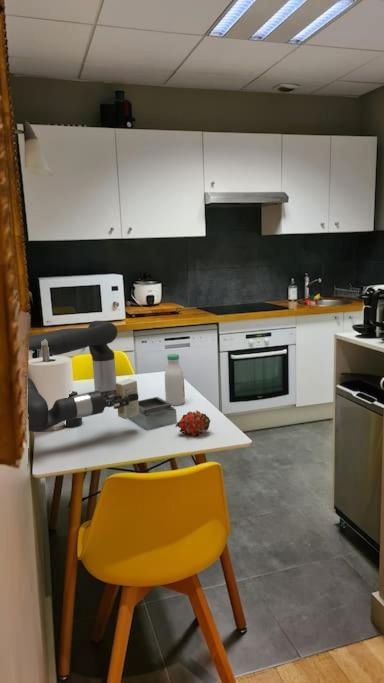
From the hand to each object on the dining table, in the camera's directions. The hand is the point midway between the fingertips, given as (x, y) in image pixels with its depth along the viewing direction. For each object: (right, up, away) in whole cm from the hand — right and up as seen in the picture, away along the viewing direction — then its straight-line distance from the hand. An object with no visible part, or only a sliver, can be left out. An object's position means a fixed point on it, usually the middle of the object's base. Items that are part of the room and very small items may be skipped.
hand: (134, 394), depth 171 cm
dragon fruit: (+20, -13, -3) cm, 25 cm away
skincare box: (-2, -7, 0) cm, 8 cm away
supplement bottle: (-24, -12, +11) cm, 29 cm away
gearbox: (+5, -11, +12) cm, 17 cm away
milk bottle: (+13, -7, +31) cm, 34 cm away
